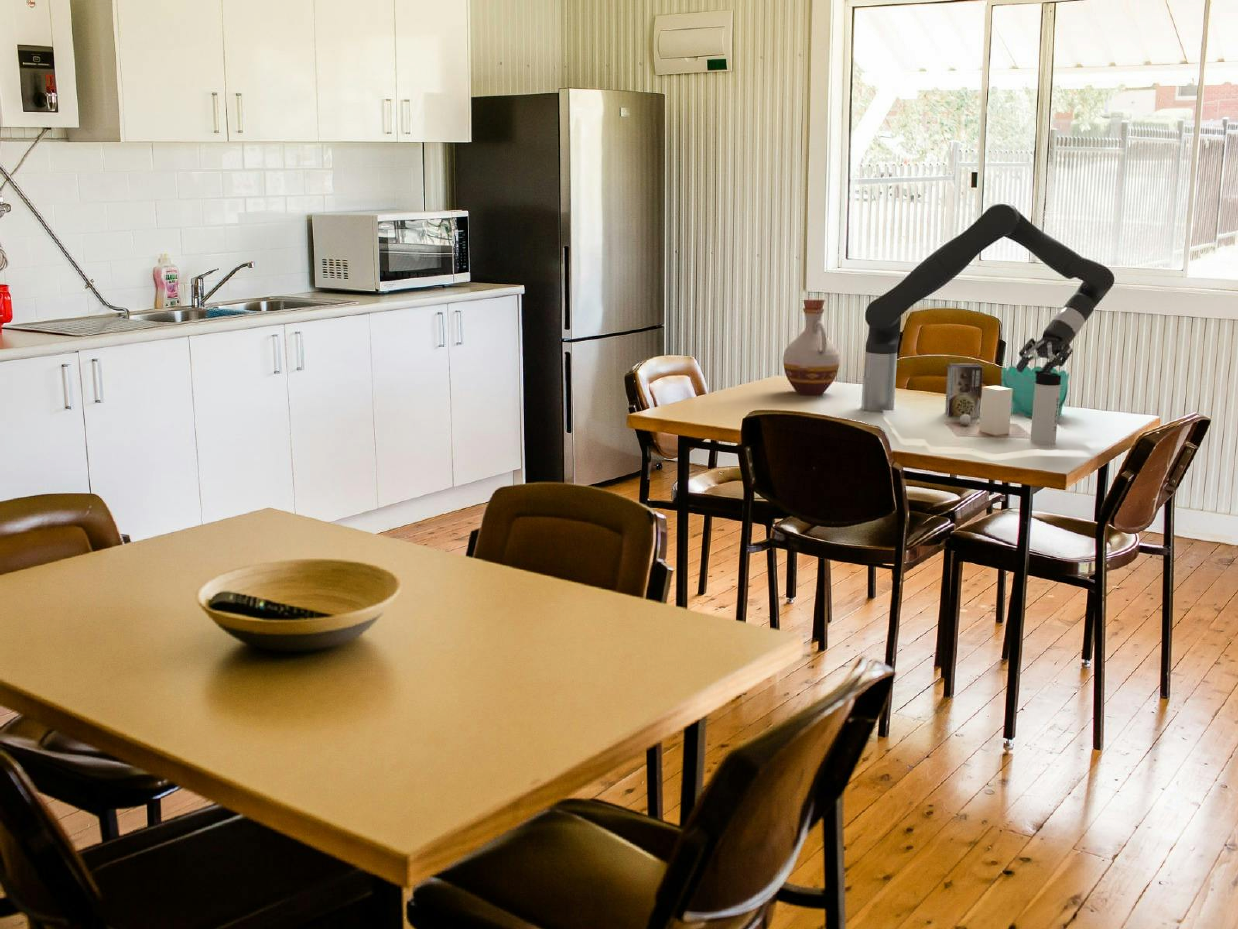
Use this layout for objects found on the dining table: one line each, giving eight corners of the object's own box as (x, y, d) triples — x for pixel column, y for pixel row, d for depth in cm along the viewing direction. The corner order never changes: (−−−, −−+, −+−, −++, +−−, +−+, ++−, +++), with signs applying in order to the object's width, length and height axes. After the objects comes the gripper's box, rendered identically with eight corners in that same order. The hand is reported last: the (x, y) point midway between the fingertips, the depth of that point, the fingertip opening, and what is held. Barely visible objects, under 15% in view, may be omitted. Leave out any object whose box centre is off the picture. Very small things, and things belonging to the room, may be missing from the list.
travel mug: (1024, 444, 340) (1031, 368, 335) (1049, 444, 340) (1055, 368, 336) (1034, 449, 334) (1040, 372, 329) (1059, 449, 334) (1065, 372, 330)
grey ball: (960, 425, 356) (961, 415, 355) (958, 423, 359) (959, 413, 358) (971, 426, 355) (972, 415, 355) (969, 424, 358) (970, 413, 358)
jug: (849, 398, 405) (854, 301, 398) (795, 400, 401) (799, 302, 394) (825, 388, 424) (829, 295, 417) (773, 389, 420) (777, 296, 413)
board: (956, 441, 342) (957, 436, 342) (943, 427, 362) (944, 421, 361) (1034, 443, 341) (1034, 438, 340) (1016, 428, 360) (1017, 423, 360)
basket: (1063, 409, 390) (1067, 367, 387) (1068, 420, 373) (1072, 376, 370) (997, 406, 395) (1000, 364, 392) (999, 417, 378) (1002, 373, 375)
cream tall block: (992, 429, 352) (996, 385, 349) (1009, 433, 346) (1012, 388, 344) (979, 430, 349) (982, 386, 346) (995, 434, 344) (998, 390, 341)
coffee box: (976, 418, 374) (980, 363, 371) (979, 422, 368) (984, 366, 365) (943, 417, 375) (947, 362, 372) (947, 422, 369) (951, 365, 365)
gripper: (1037, 316, 357) (1004, 360, 354) (1078, 321, 345) (1044, 367, 342) (1050, 334, 361) (1016, 377, 358) (1090, 340, 349) (1056, 385, 346)
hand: (1030, 372), depth 350 cm, fingers open, 8 cm apart
